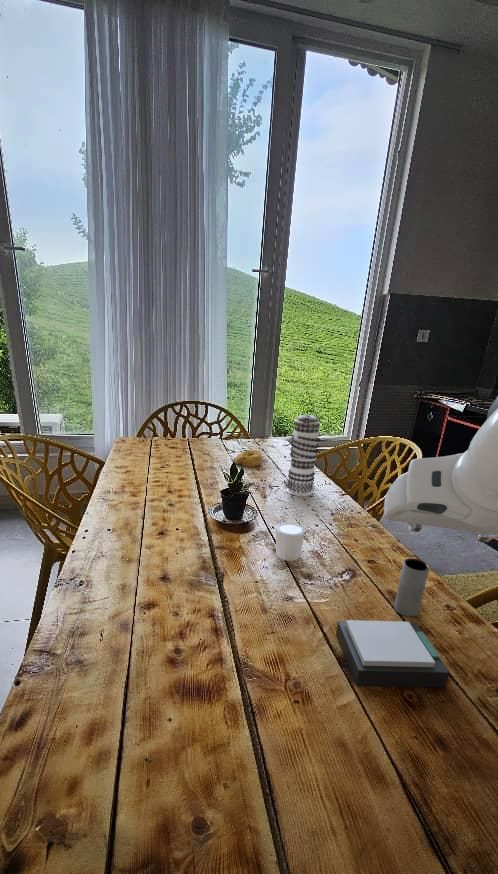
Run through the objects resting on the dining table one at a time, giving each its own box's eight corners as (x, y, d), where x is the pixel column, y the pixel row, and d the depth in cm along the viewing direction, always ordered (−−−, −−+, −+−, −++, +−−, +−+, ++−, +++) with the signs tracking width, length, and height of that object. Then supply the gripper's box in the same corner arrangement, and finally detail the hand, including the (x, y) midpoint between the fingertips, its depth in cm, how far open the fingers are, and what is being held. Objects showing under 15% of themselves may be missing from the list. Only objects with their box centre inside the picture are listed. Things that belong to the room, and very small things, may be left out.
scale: (412, 636, 80) (417, 618, 78) (445, 687, 69) (451, 667, 67) (335, 634, 79) (338, 616, 78) (355, 685, 68) (360, 665, 67)
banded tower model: (319, 493, 146) (329, 417, 137) (299, 498, 141) (308, 420, 132) (300, 484, 153) (308, 412, 144) (279, 489, 148) (287, 414, 139)
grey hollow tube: (399, 600, 90) (409, 555, 86) (422, 610, 87) (433, 564, 83) (389, 609, 87) (399, 563, 83) (412, 620, 84) (423, 573, 80)
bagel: (232, 460, 178) (232, 448, 176) (259, 460, 179) (260, 448, 177) (235, 467, 169) (236, 455, 167) (264, 467, 170) (265, 455, 168)
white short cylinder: (304, 562, 103) (307, 535, 100) (274, 561, 103) (277, 534, 100) (299, 548, 109) (302, 523, 107) (272, 547, 109) (274, 521, 107)
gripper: (579, 477, 53) (523, 522, 65) (398, 457, 57) (378, 503, 69) (586, 526, 50) (526, 563, 63) (396, 500, 55) (375, 540, 67)
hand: (447, 531), depth 66 cm, fingers open, 8 cm apart
